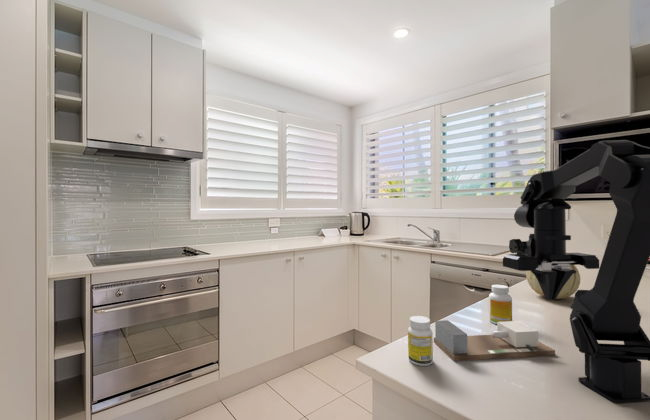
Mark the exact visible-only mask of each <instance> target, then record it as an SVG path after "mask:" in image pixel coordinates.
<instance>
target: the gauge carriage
mask: <svg viewBox="0 0 650 420" xmlns="http://www.w3.org/2000/svg"><path fill="white" fill-rule="evenodd" d="M496 326H497V327H496V328H497V330H494V331H493V330H492V331H491V332H490V335H492V337H493V338H502V339H503V340H505V341H506V342H508V343H510V344H511V345H513V346H514V347H528V348H530V349H531V350H533V351H534V350H536V349H535V348H533V347H534V346H538V341H539V331H538V330H537V329H534V328H533V327H531V326H528V325H526V324H524V323H523V322H520V321H518V320H514V321H513V320H512V321H506V322H497V325H496Z"/></svg>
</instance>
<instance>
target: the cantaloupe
mask: <svg viewBox="0 0 650 420" xmlns="http://www.w3.org/2000/svg"><path fill="white" fill-rule="evenodd" d="M543 262H546V261H543ZM570 266H571V270H576V273H573V274H572V276H571V277H570V278H569V280H568V281H567V282H566V284H565V285H564V286H563V288H562V290H561V291H560V293H559V294H558V296H557V298H556V299H555V300H560V299H566V298H569V297H571V296H572V295H575V293H576V292H577V291H578V290H579V287H580V284H581V275H580V271H579V269H578V268H577V265H570ZM525 272H526V273H525V275H526V281H527V283H528V286H529V287H530V288H531V289H532V291H534V292H535V293H536V294H538V295H540V296H542V297H544V298H545V296H544V294H543V292H542V289H541V287H540V284H539V282H538V280H537V278H536V276H535V275H534V274H533V273H532V272H531V271H525Z"/></svg>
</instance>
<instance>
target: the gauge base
mask: <svg viewBox="0 0 650 420" xmlns="http://www.w3.org/2000/svg"><path fill="white" fill-rule="evenodd" d="M433 343H434V344H435V345H436V346H437V347H438V348H439V349H440V350H441V351H443V352H444V354H446V355H447V356H448V357H449V358H450V359H451V360H452V361H453V362H461V361H476V360H477V361H478V360H490V359H489V358H497V359H511V357H514V358H526V357H527V358H528V357H530V358H531V357H543V356H544V357H545V356H555V355H556V350H555V349H553V348H551V347H549V345H546V344H544V343H542V342H541V341H539V340H538V346H534V347H533V348H535V349H536V350H534V351H533V350H531V349H530V348H528V347H514V346H513V345H511V344H510V343H508V342H506V341H505V340H503V339H502V338H493V337H492V335H491V334H479V335H467V354H460V355H453V354H452V353H451V352H450V351H449V350H448V349H446V348H445V347H444V346H443V345H442V344H441V343H440V342H439V341H438V340H437V339H436V338H435V337H433Z"/></svg>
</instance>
